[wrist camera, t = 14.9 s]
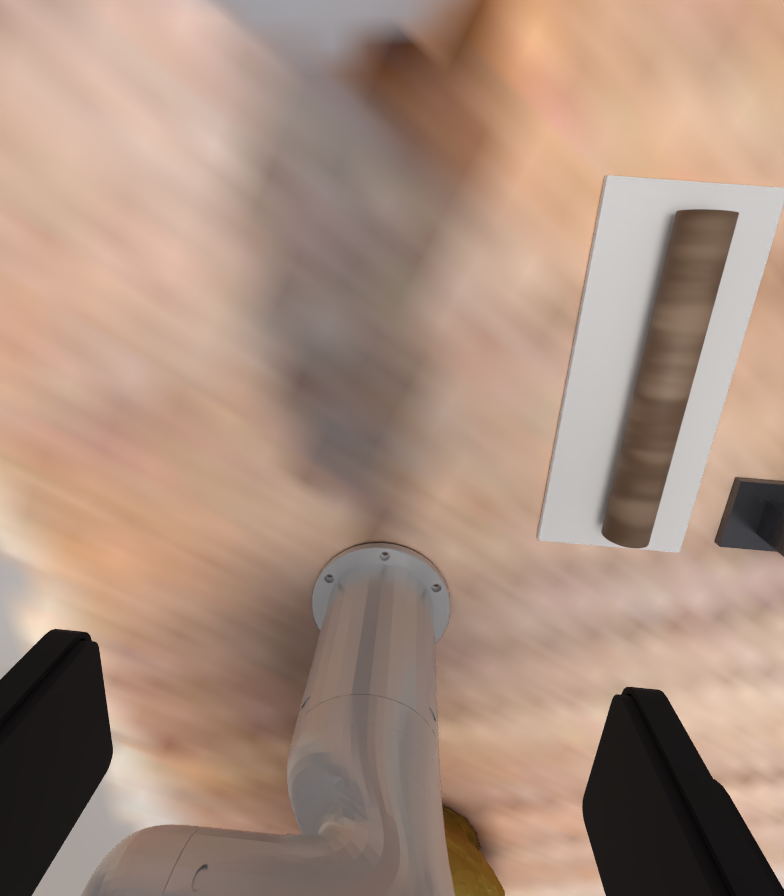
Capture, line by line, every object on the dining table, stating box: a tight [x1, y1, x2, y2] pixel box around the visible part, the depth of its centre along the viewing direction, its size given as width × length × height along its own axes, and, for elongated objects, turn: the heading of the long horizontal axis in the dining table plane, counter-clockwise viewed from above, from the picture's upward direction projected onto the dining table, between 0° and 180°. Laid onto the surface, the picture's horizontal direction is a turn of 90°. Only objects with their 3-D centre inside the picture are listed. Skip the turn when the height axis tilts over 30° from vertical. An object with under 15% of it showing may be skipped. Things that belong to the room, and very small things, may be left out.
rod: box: [601, 209, 739, 548], centre depth 38 cm, size 24×4×4 cm, turn 176°
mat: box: [537, 175, 784, 553], centre depth 40 cm, size 28×12×1 cm, turn 176°
